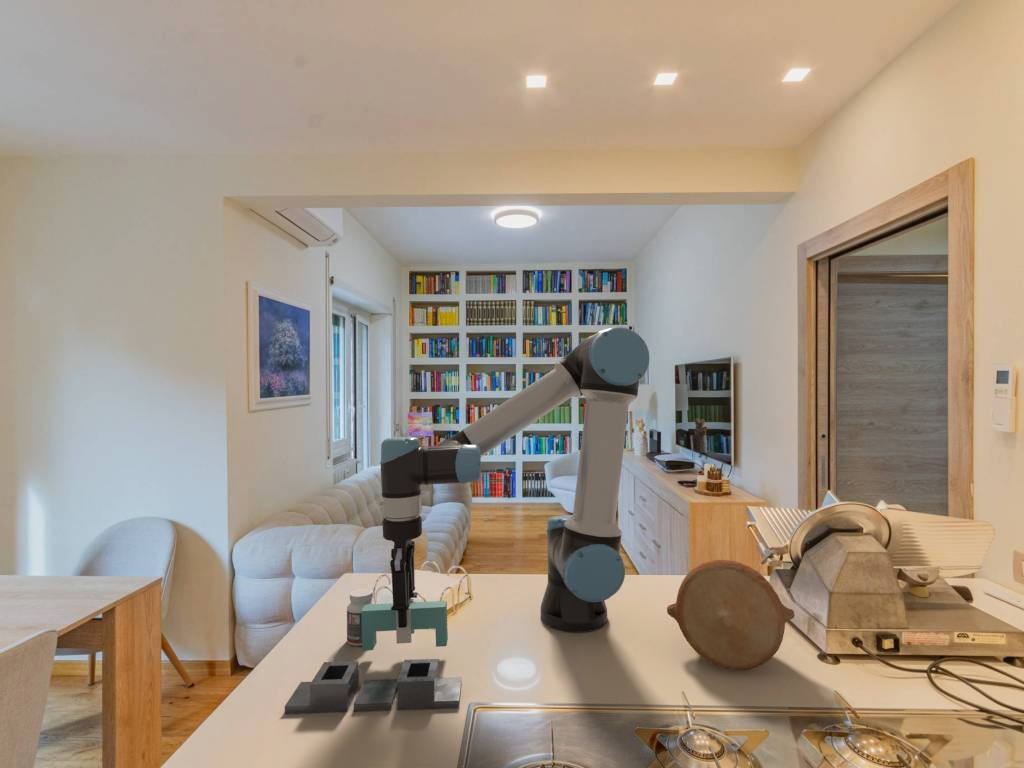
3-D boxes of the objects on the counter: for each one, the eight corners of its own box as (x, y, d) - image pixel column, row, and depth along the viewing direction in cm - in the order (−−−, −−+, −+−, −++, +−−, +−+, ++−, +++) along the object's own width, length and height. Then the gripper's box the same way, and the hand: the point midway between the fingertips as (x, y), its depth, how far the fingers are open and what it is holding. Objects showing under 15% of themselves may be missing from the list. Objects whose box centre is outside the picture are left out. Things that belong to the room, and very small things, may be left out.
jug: (650, 606, 94) (658, 572, 123) (719, 706, 89) (711, 646, 117) (742, 546, 91) (729, 525, 119) (820, 646, 85) (787, 599, 113)
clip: (447, 638, 101) (446, 600, 102) (446, 646, 98) (445, 606, 99) (366, 643, 101) (365, 604, 101) (362, 650, 98) (361, 611, 98)
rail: (461, 683, 90) (461, 658, 91) (459, 708, 84) (458, 680, 84) (300, 688, 89) (300, 662, 90) (284, 713, 82) (284, 685, 83)
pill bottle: (367, 648, 104) (367, 598, 104) (341, 645, 105) (341, 596, 105) (380, 635, 109) (379, 588, 110) (355, 632, 111) (355, 586, 111)
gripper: (390, 508, 108) (394, 620, 108) (373, 528, 92) (376, 660, 91) (426, 506, 108) (430, 618, 108) (415, 526, 92) (419, 657, 92)
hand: (405, 637), depth 100 cm, fingers closed on clip, 3 cm apart
